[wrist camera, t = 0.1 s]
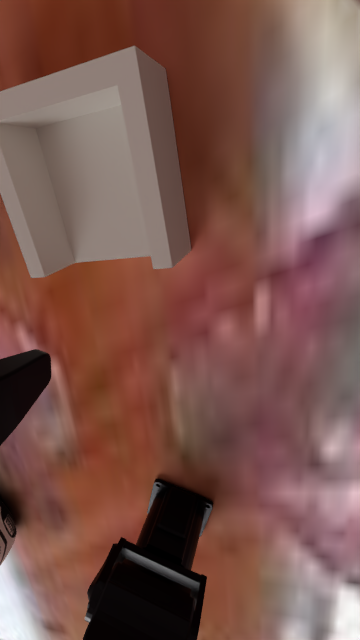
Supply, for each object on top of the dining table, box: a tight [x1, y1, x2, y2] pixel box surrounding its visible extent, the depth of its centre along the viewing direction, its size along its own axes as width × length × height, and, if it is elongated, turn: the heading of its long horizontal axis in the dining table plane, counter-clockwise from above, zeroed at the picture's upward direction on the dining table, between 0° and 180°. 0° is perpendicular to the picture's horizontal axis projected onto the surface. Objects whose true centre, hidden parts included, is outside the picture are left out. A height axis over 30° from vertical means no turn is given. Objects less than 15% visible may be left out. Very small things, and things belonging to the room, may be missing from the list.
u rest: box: [0, 46, 191, 278], centre depth 19 cm, size 10×10×4 cm
